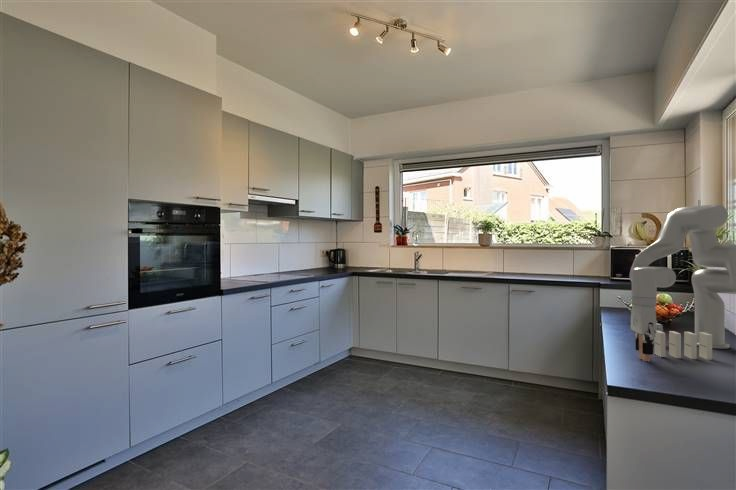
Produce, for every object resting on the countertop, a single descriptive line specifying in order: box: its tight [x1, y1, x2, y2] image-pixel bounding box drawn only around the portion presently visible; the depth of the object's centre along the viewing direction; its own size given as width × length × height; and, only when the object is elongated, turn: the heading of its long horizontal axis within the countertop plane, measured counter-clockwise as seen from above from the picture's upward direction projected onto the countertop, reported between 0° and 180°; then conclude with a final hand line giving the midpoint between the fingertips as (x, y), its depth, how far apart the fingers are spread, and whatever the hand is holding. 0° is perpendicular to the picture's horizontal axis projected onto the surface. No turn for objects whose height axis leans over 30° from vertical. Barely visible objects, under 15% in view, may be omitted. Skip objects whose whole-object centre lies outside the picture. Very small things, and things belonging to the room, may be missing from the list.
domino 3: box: [668, 330, 682, 359], centre depth 152 cm, size 2×5×9 cm, turn 168°
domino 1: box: [638, 334, 651, 363], centre depth 148 cm, size 2×5×9 cm, turn 169°
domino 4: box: [683, 331, 698, 360], centre depth 151 cm, size 2×5×9 cm, turn 169°
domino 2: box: [653, 331, 667, 358], centre depth 153 cm, size 2×5×9 cm, turn 169°
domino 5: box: [698, 332, 713, 361], centre depth 150 cm, size 2×5×9 cm, turn 168°
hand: (644, 351), depth 148 cm, fingers closed on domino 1, 4 cm apart
